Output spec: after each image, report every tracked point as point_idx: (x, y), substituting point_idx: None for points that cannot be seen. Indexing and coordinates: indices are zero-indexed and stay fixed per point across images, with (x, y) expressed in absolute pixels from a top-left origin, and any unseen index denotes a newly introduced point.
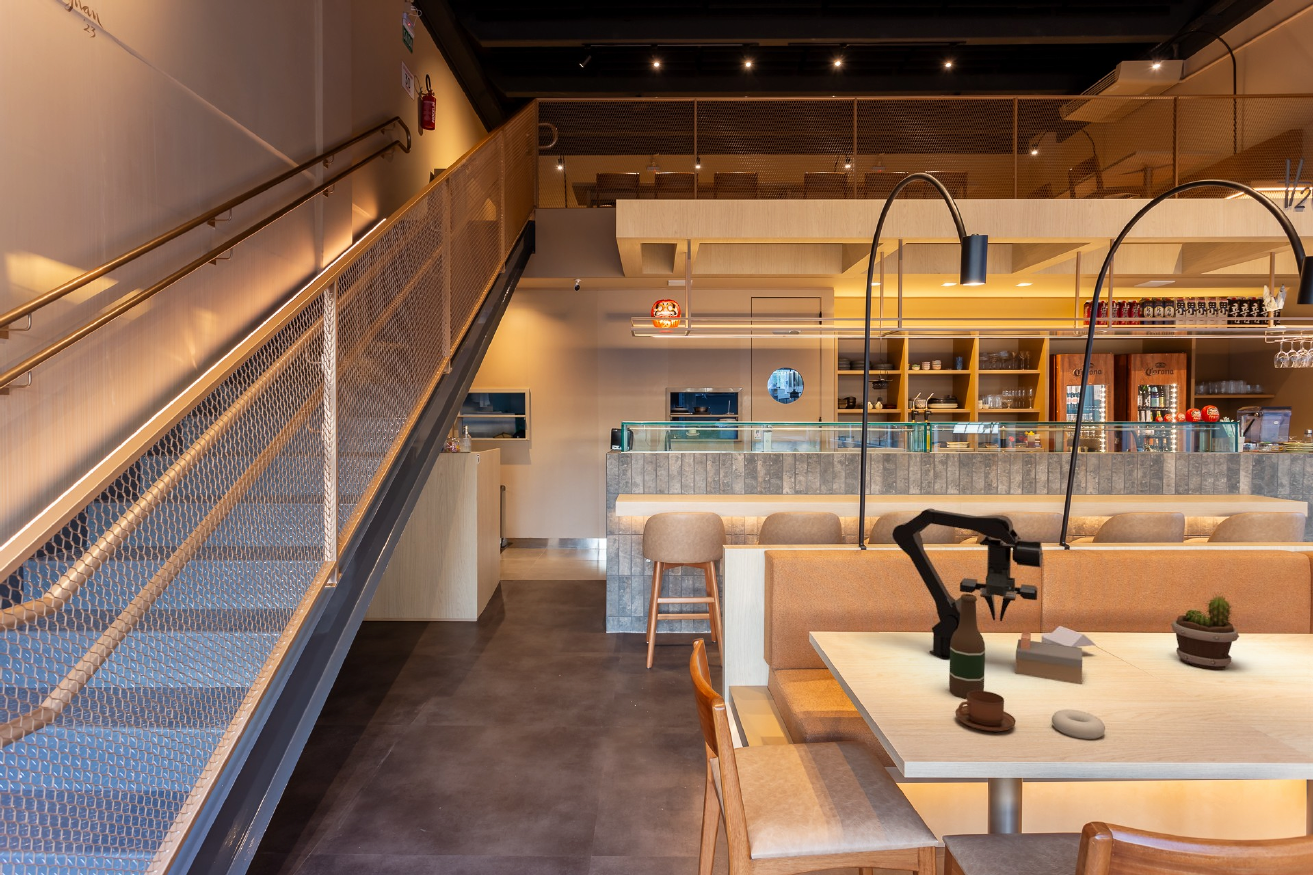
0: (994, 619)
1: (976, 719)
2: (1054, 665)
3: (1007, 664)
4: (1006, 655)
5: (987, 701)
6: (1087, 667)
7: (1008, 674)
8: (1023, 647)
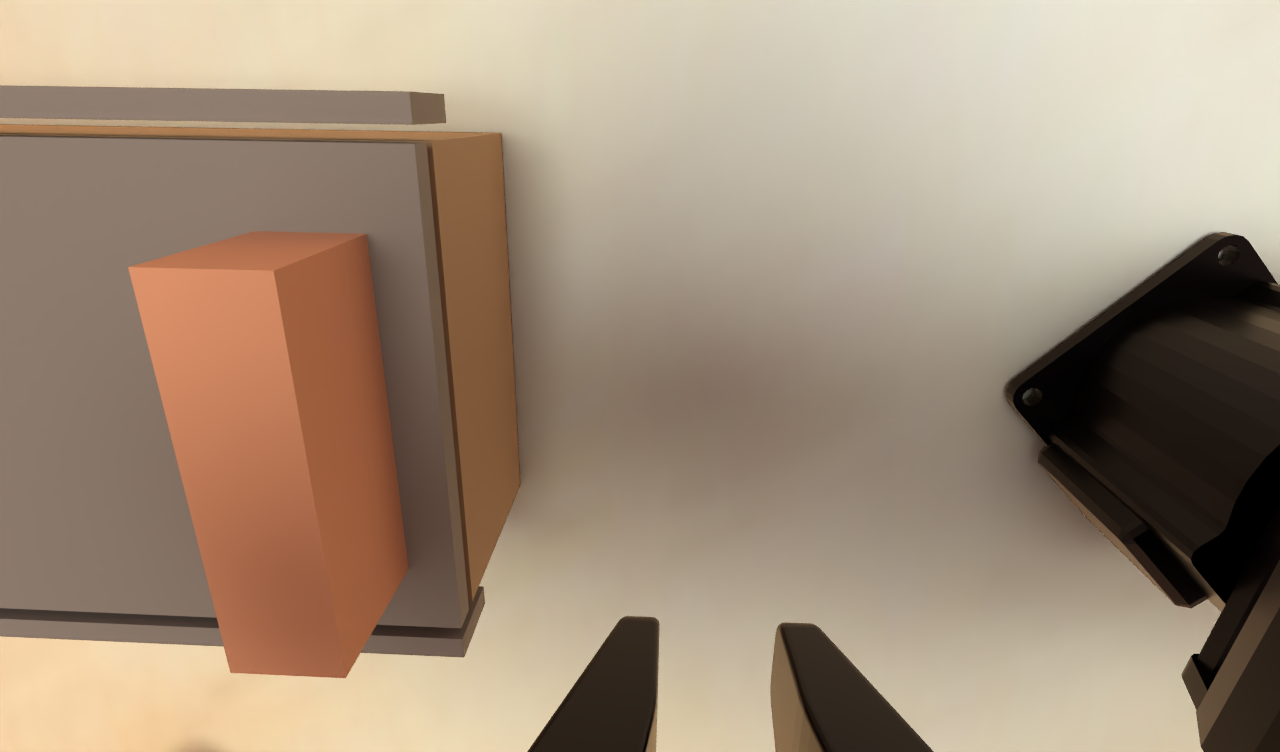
0: (790, 633)
1: None
2: (32, 131)
3: (597, 387)
4: None
5: None
6: None
7: (561, 58)
8: (317, 238)
